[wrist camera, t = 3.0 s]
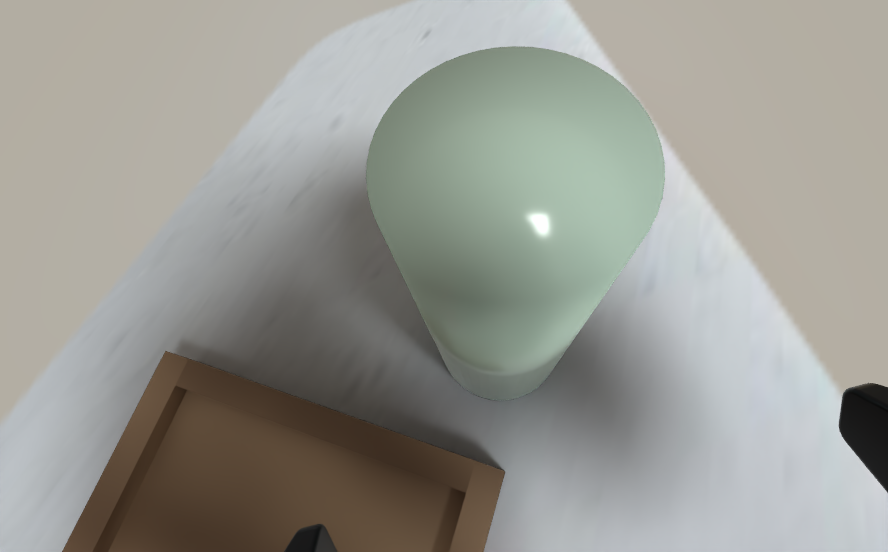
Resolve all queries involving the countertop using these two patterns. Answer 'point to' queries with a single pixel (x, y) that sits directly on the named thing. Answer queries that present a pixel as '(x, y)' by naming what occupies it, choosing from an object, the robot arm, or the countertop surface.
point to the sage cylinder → (512, 205)
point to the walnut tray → (275, 476)
